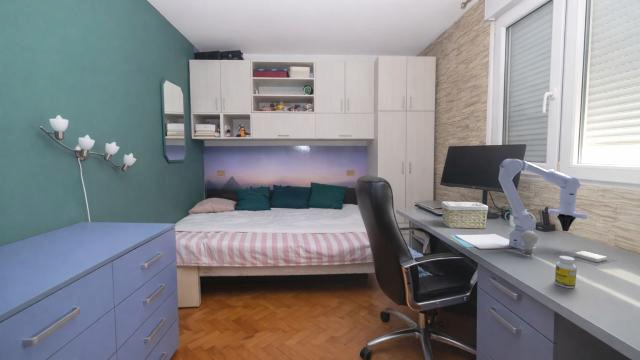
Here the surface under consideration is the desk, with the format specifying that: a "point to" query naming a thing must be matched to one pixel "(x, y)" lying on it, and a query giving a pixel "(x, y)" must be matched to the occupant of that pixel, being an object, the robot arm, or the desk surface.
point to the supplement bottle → (565, 272)
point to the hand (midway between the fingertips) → (565, 230)
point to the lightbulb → (529, 240)
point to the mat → (571, 254)
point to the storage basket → (464, 214)
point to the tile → (590, 256)
